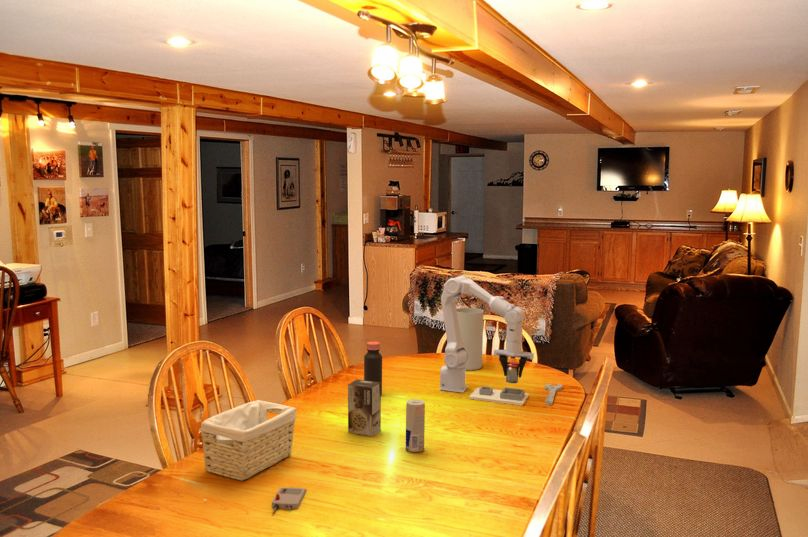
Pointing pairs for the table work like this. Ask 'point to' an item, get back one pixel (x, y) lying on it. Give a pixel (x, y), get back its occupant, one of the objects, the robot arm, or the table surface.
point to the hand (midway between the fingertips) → (512, 376)
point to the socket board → (500, 395)
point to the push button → (512, 372)
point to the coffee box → (364, 407)
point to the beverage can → (415, 425)
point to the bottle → (373, 363)
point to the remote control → (288, 498)
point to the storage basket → (247, 439)
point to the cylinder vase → (471, 335)
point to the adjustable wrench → (552, 392)
